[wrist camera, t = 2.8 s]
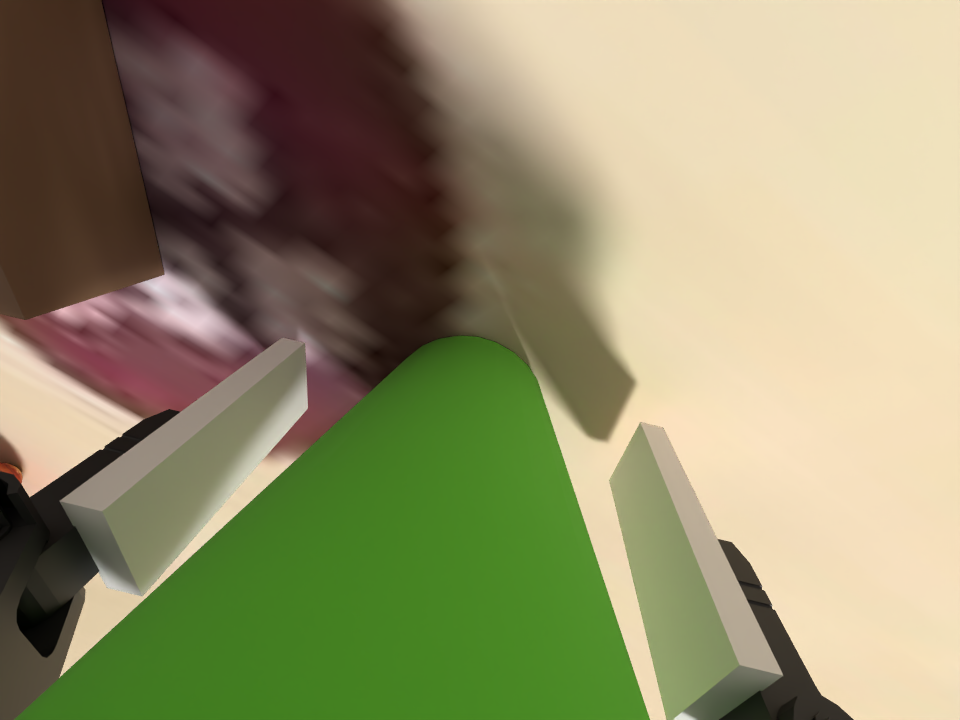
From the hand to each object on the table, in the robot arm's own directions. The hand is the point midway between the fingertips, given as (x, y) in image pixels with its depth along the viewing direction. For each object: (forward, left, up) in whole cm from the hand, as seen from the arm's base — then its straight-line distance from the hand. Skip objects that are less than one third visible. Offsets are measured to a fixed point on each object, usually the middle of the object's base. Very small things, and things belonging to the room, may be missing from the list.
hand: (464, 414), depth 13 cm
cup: (0, 0, -1) cm, 1 cm away
